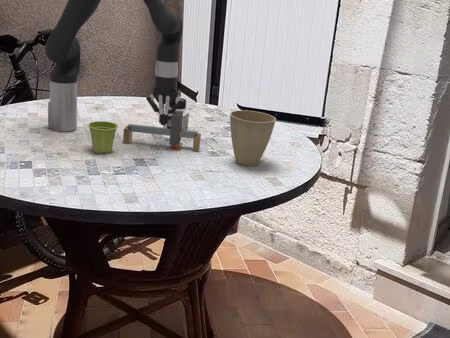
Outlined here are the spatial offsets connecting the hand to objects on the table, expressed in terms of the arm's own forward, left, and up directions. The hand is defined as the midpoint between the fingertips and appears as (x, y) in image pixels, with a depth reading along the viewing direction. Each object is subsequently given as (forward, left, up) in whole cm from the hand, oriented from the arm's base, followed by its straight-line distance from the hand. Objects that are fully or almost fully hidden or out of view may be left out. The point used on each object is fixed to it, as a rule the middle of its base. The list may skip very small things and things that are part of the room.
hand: (163, 124), depth 192 cm
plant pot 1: (-18, -13, -8) cm, 23 cm away
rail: (0, 0, -7) cm, 7 cm away
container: (+2, +19, -8) cm, 21 cm away
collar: (+4, 0, -6) cm, 7 cm away
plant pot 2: (+30, -8, -8) cm, 32 cm away
